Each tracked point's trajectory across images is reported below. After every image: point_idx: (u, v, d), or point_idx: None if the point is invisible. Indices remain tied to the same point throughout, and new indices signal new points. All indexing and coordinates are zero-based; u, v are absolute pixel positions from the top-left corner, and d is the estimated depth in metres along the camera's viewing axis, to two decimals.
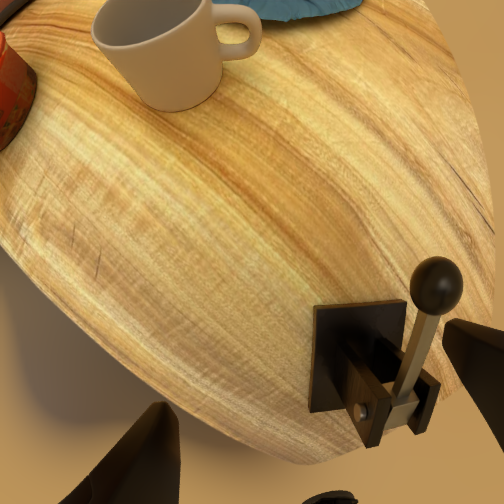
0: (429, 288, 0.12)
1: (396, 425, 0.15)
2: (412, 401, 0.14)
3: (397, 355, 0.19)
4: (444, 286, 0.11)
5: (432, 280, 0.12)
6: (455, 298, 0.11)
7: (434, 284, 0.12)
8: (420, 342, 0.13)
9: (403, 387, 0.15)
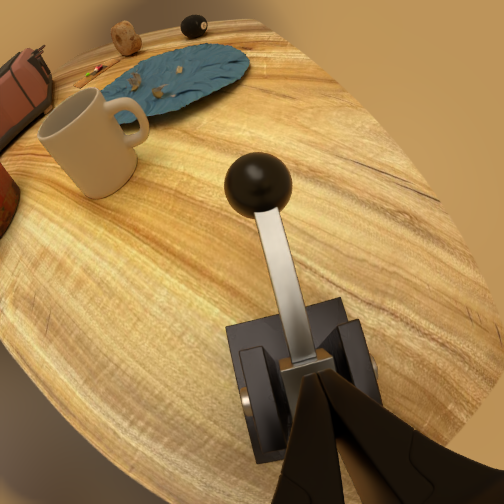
0: (228, 176, 0.12)
1: None
2: (319, 359, 0.10)
3: None
4: (240, 163, 0.12)
5: (229, 169, 0.12)
6: (261, 168, 0.12)
7: (230, 169, 0.12)
8: (267, 253, 0.12)
9: (289, 338, 0.11)
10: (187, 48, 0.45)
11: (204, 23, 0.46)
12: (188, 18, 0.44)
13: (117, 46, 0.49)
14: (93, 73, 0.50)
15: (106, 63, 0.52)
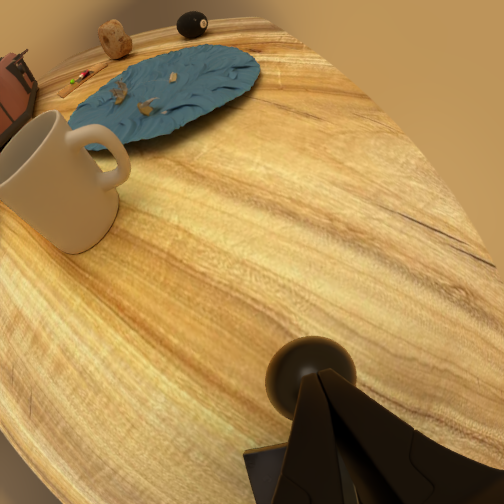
0: (272, 376, 0.08)
1: None
2: None
3: None
4: (290, 363, 0.08)
5: (273, 364, 0.09)
6: None
7: (276, 368, 0.08)
8: None
9: None
10: (184, 50, 0.39)
11: (204, 21, 0.39)
12: (185, 15, 0.38)
13: (105, 48, 0.42)
14: (78, 80, 0.44)
15: (93, 68, 0.45)
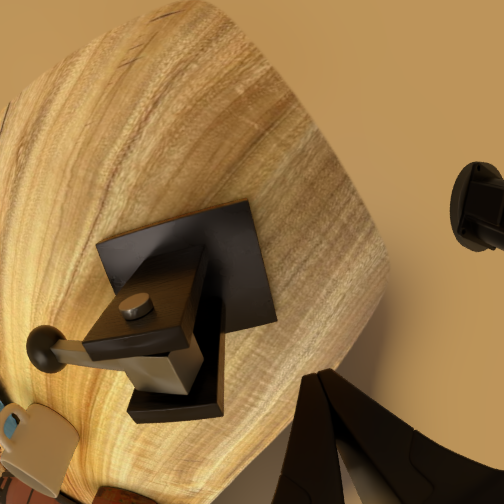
0: None
1: (170, 375, 0.10)
2: None
3: None
4: None
5: None
6: (31, 360, 0.12)
7: None
8: (75, 363, 0.13)
9: (119, 369, 0.12)
10: None
11: None
12: None
13: None
14: None
15: None
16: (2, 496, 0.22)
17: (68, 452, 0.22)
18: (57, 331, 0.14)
